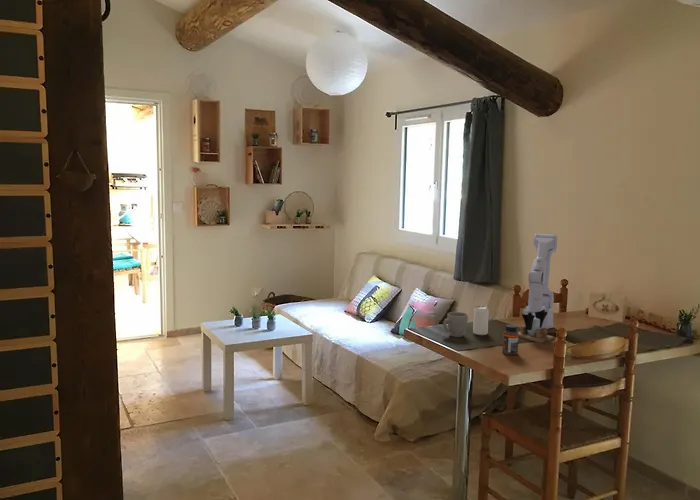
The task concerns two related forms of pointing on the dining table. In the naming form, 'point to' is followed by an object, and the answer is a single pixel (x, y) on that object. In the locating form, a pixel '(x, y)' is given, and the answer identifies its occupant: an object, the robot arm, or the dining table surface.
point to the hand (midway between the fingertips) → (533, 328)
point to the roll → (534, 327)
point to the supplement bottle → (510, 340)
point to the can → (480, 320)
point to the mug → (456, 323)
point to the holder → (540, 335)
